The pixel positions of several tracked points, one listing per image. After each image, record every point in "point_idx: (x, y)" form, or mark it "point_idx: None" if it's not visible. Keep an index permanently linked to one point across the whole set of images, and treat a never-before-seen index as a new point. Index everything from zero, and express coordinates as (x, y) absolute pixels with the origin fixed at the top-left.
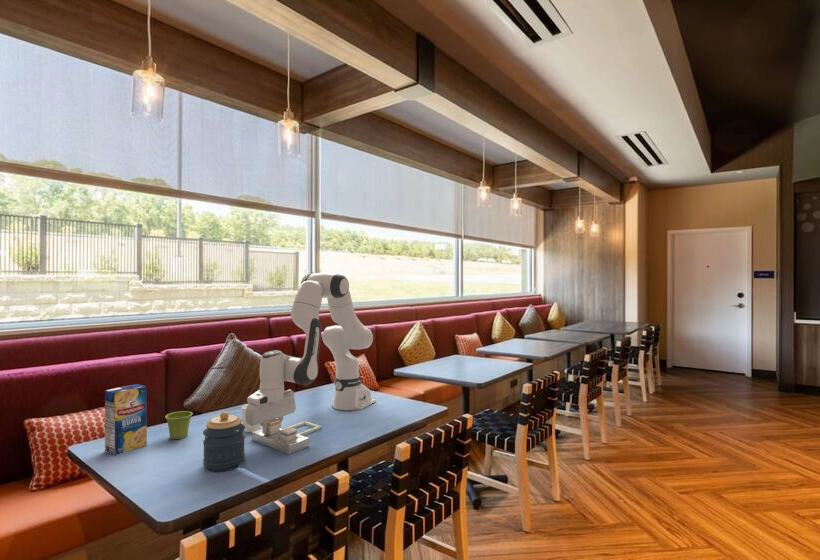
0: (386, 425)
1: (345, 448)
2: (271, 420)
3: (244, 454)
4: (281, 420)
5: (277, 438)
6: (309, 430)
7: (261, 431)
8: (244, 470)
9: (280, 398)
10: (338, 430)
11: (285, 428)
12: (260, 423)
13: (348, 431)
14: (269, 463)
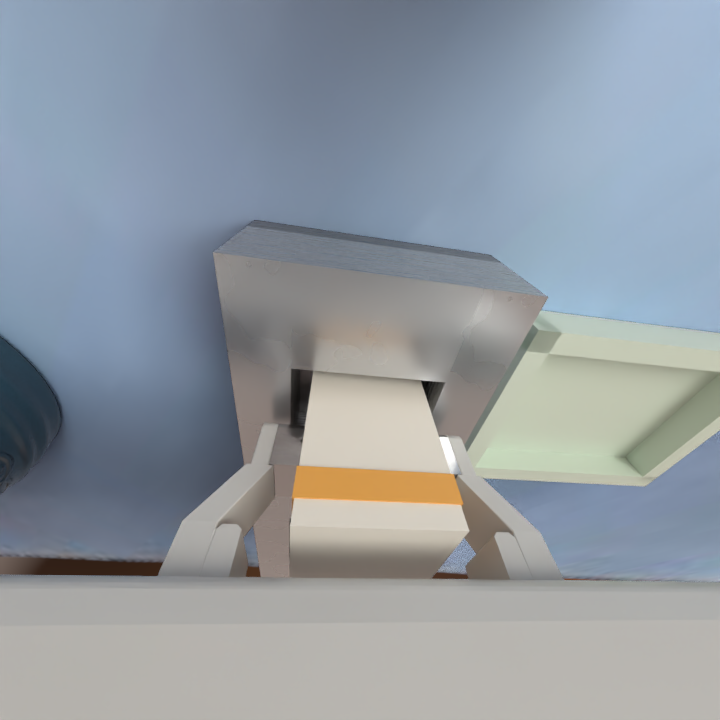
0: (682, 560)
1: (439, 568)
2: (356, 566)
3: (18, 479)
4: (473, 544)
5: (286, 516)
6: (558, 481)
7: (311, 345)
8: (39, 485)
9: None
10: (629, 499)
11: (589, 349)
12: (180, 541)
13: (614, 523)
14: (174, 505)
